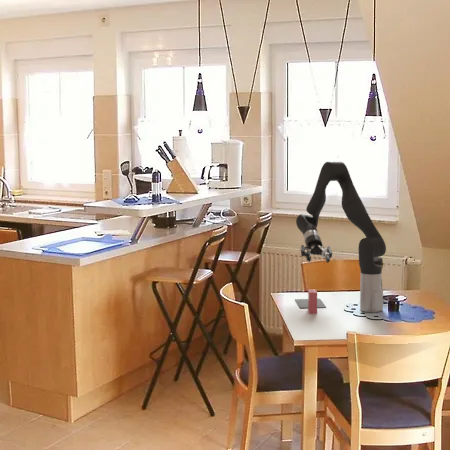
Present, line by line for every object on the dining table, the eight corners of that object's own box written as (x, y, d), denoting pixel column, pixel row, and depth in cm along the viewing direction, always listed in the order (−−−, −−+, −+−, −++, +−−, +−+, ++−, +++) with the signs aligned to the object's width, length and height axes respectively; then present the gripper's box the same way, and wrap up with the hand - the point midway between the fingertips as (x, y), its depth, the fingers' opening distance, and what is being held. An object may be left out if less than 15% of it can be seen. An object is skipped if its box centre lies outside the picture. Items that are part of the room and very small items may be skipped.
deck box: (308, 309, 347) (308, 289, 346) (316, 309, 347) (316, 289, 345) (309, 313, 341) (309, 292, 339) (317, 313, 340) (317, 292, 339)
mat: (295, 300, 365) (295, 299, 365) (320, 299, 366) (320, 298, 366) (300, 308, 349) (300, 307, 349) (326, 307, 350) (326, 306, 350)
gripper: (299, 233, 359) (305, 253, 346) (328, 235, 361) (335, 254, 348) (296, 246, 363) (302, 266, 350) (325, 248, 365) (332, 268, 352)
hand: (319, 260), depth 349 cm, fingers open, 8 cm apart
